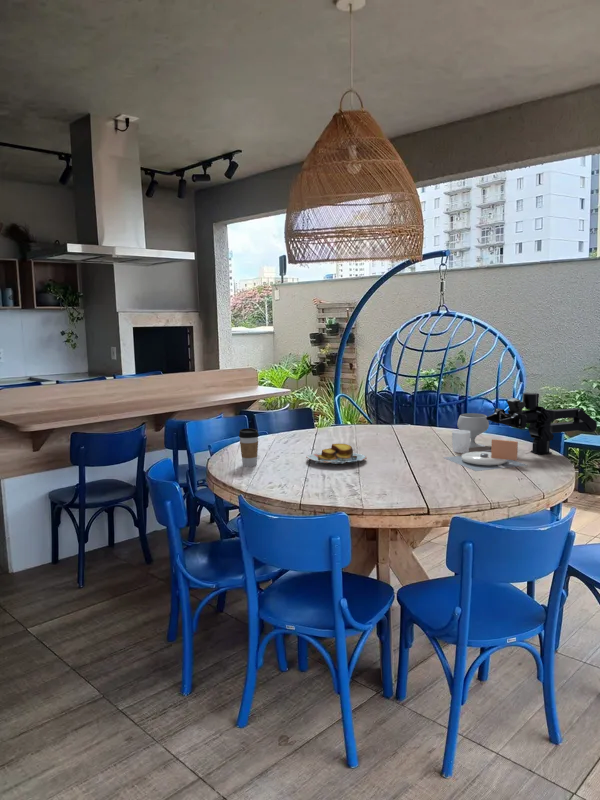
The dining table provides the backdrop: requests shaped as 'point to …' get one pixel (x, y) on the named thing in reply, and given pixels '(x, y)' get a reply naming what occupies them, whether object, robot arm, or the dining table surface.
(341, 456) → the food on plate
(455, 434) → the white cup
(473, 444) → the chalice
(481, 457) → the dial
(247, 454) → the coffee cup
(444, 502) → the dining table surface
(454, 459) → the board
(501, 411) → the robot arm
